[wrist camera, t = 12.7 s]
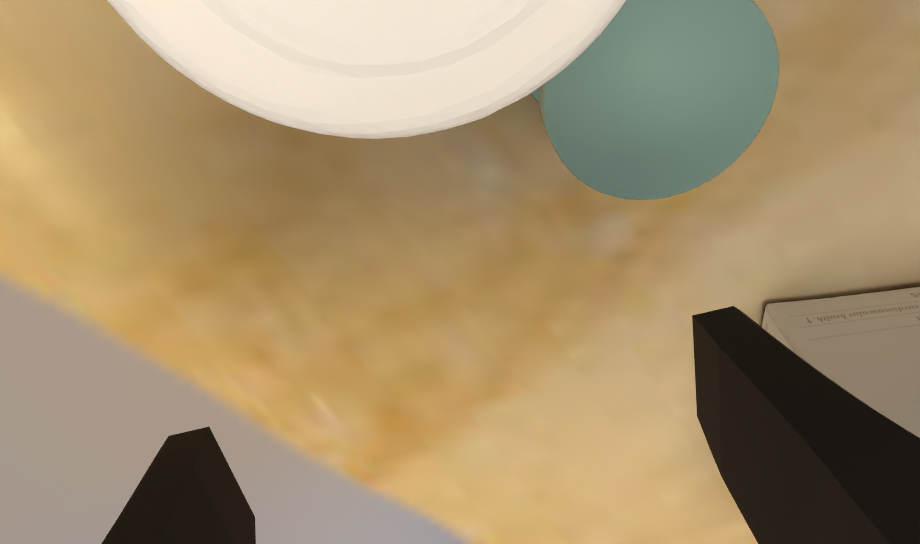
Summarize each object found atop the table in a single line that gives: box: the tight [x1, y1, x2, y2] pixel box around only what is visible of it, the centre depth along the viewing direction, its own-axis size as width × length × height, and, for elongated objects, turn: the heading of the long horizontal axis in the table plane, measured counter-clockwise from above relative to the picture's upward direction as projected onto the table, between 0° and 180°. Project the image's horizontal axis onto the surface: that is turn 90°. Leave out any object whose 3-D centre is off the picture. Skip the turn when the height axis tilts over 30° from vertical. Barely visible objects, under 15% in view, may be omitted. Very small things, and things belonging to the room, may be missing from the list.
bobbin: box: [531, 0, 779, 200], centre depth 19 cm, size 5×5×4 cm
